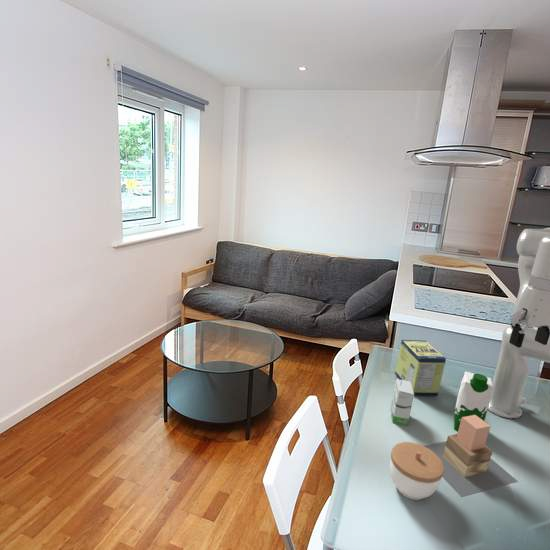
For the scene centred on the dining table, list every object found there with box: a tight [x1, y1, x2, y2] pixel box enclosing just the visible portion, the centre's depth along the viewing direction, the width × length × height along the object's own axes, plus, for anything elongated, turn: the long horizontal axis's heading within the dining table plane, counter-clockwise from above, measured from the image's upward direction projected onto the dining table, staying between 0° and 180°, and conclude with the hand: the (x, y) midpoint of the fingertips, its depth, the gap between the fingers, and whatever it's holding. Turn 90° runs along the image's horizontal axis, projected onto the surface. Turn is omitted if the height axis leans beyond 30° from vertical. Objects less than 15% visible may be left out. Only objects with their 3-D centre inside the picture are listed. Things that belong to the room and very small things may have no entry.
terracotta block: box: [456, 415, 491, 451], centre depth 106 cm, size 5×5×7 cm
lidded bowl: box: [389, 441, 444, 501], centre depth 97 cm, size 13×13×11 cm
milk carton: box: [453, 371, 493, 432], centre depth 122 cm, size 9×9×20 cm
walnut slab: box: [445, 433, 493, 467], centre depth 107 cm, size 8×8×4 cm
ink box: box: [389, 378, 415, 426], centre depth 126 cm, size 9×5×12 cm, turn 168°
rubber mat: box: [423, 440, 519, 498], centre depth 108 cm, size 20×18×1 cm
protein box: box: [394, 339, 447, 397], centre depth 147 cm, size 10×16×16 cm
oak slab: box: [443, 446, 489, 477], centre depth 108 cm, size 8×8×4 cm
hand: (527, 343), depth 104 cm, fingers open, 9 cm apart
